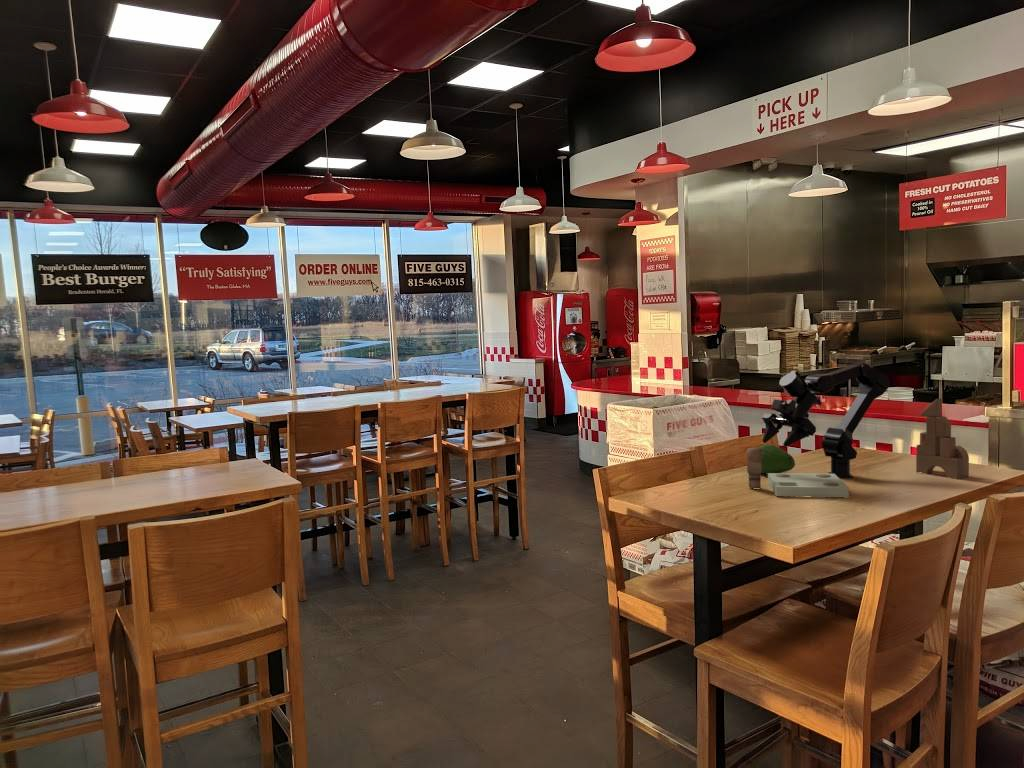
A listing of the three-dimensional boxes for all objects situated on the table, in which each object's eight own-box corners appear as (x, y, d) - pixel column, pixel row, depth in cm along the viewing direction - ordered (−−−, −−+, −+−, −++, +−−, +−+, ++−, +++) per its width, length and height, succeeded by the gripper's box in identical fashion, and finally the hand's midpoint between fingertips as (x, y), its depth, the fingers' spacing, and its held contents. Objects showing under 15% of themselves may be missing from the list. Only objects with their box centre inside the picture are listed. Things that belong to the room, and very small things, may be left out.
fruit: (801, 475, 243) (801, 445, 242) (783, 479, 237) (783, 449, 236) (762, 469, 255) (762, 441, 254) (745, 473, 249) (744, 444, 249)
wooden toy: (970, 476, 231) (971, 398, 229) (957, 479, 228) (958, 400, 226) (923, 469, 245) (923, 395, 243) (911, 471, 242) (911, 397, 240)
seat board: (768, 482, 234) (767, 472, 234) (834, 482, 230) (834, 473, 229) (776, 496, 215) (775, 486, 215) (848, 497, 210) (848, 487, 210)
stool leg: (747, 486, 229) (746, 447, 228) (761, 487, 228) (760, 447, 227) (748, 489, 225) (747, 450, 224) (762, 490, 224) (761, 450, 223)
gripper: (765, 388, 238) (739, 424, 235) (808, 392, 220) (780, 431, 217) (784, 410, 241) (758, 446, 238) (828, 415, 224) (801, 454, 221)
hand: (773, 444), depth 228 cm, fingers open, 9 cm apart
